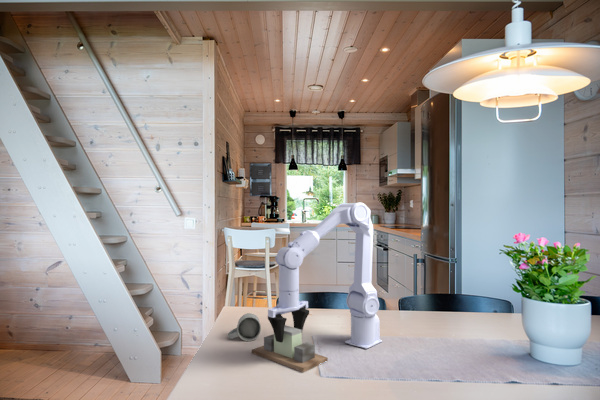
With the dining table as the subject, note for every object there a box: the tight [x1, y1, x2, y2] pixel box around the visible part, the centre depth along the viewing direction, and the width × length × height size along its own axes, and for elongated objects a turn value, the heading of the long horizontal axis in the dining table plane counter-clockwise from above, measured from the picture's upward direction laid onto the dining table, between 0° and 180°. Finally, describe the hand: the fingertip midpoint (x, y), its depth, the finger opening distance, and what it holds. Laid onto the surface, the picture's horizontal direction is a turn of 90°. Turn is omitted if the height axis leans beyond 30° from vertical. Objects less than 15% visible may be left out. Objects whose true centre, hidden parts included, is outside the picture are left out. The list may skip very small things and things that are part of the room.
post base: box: [251, 333, 328, 373], centre depth 109 cm, size 10×20×4 cm, turn 48°
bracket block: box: [273, 324, 303, 358], centre depth 109 cm, size 4×7×7 cm, turn 48°
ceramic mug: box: [226, 312, 262, 342], centre depth 126 cm, size 11×8×8 cm
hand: (288, 338), depth 109 cm, fingers open, 7 cm apart
